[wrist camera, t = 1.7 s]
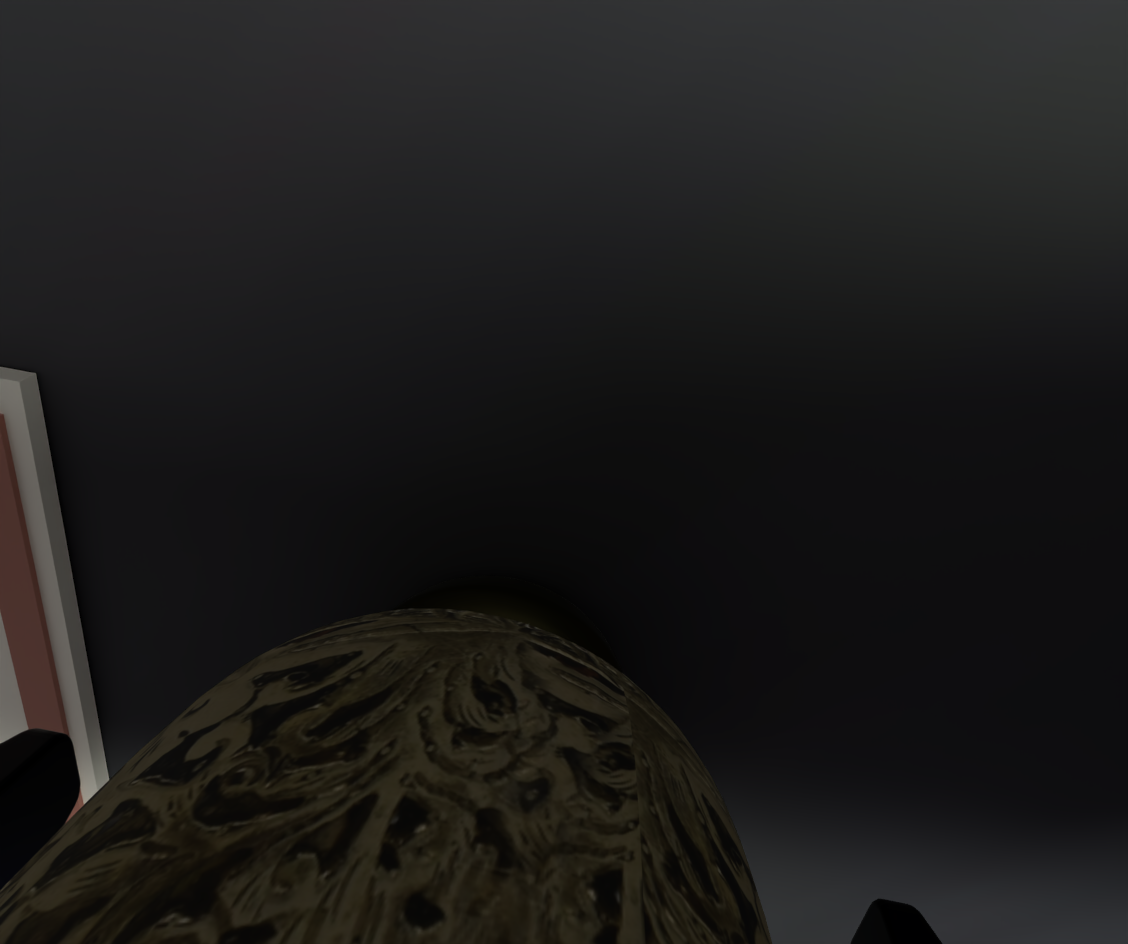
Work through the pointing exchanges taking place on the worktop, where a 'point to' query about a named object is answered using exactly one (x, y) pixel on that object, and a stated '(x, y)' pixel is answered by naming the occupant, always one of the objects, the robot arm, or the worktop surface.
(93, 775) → the marked card
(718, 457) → the worktop surface
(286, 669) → the ornate bronze cup
